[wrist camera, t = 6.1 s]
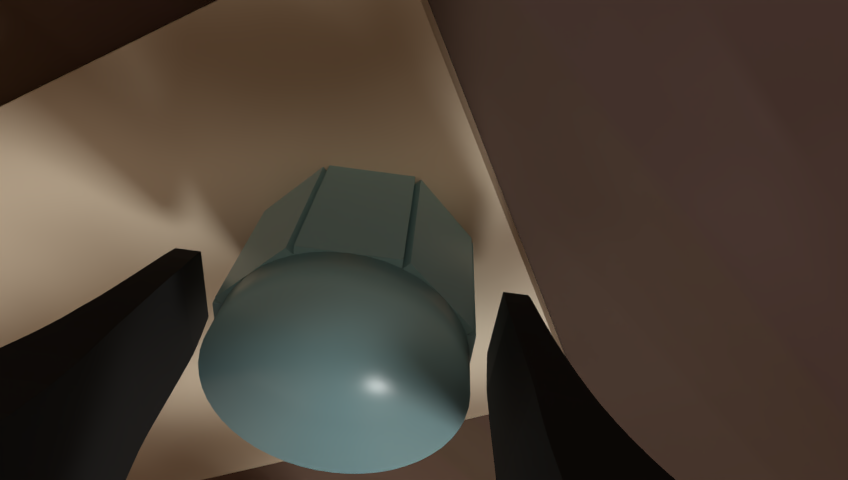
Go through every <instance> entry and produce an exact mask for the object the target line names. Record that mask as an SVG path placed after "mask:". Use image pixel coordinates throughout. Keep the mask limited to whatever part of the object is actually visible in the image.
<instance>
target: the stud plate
mask: <svg viewBox="0 0 848 480" xmlns="http://www.w3.org/2000/svg"><path fill="white" fill-rule="evenodd" d="M329 165H331V166H339V167H346V168H354V169H361V170H369V171H377V172H384V173H392V174H400V175H407V176H415V183H414V184H416V183H417V182H419V181H420V180H422V181H423V182H424V183H425V185H426V186H427V187H428V188H429V189H430V190H431V192H432V193H433V194H434V195H435V196H436V197H437V199H438V200H439V201H440V202H441V203H442V204H443V206H444V207H445V208H446V209H447V210H448V211H449V212H450V214H451V215H452V216H453V217H454V218H455V219H456V221H457V222H458V223H459V224H460V225H461V226H462V228H463V229H464V230H465V231H466V232H467V233H468V234H469V236H470V237H471V239H472V243H473V259H474V287H475V316H476V339H475V344H474V348H473V352H472V356H471V361H470V402H469V408H468V411H467V414H466V417H465V420H466V419H470V418H474V417H479V416H483V415H487V414H489V410H488V401H487V351H488V347H489V344H490V340H491V336H492V332H493V328H494V325H495V321H496V317H497V313H498V309H499V306H500V302H501V298H502V294H503V292H509V293H516V294H524V295H529V297H530V298H531V299H532V301H533V303H534V305H535V306H536V308H537V310H538V312H539V314H540V315H541V317H542V319H543V321H544V322H545V324H546V326H547V328H548V329H549V331H550V333H551V334H552V336H553V338H554V339H555V341H556V342H557V344H558V346H559V347H560V349H561V350H562V352H563V353H564V351H563V349H562V346H561V344H560V341H559V339H558V336H557V333H556V331H555V328H554V326H553V323H552V320H551V318H550V315H549V313H548V310H547V308H546V305H545V302H544V300H543V297H542V295H541V292H540V289H539V287H538V284H537V282H536V279H535V277H534V274H533V271H532V269H531V266H530V264H529V261H528V258H527V256H526V253H525V251H524V248H523V245H522V243H521V240H520V238H519V235H518V233H517V230H516V227H515V225H514V222H513V220H512V217H511V214H510V212H509V209H508V207H507V204H506V202H505V199H504V196H503V194H502V191H501V189H500V186H499V183H498V181H497V178H496V176H495V173H494V171H493V168H492V165H491V163H490V160H489V158H488V155H487V152H486V150H485V147H484V145H483V142H482V140H481V137H480V134H479V132H478V129H477V127H476V124H475V121H474V119H473V116H472V114H471V111H470V109H469V106H468V103H467V101H466V98H465V96H464V93H463V90H462V88H461V85H460V83H459V80H458V78H457V75H456V72H455V70H454V67H453V65H452V62H451V59H450V57H449V54H448V52H447V49H446V47H445V44H444V41H443V39H442V36H441V34H440V31H439V28H438V26H437V23H436V21H435V18H434V16H433V13H432V10H431V8H430V5H429V3H428V0H216V1H214V2H212V3H210V4H208V5H206V6H204V7H202V8H200V9H198V10H196V11H194V12H192V13H190V14H188V15H186V16H184V17H181V18H179V19H177V20H175V21H173V22H171V23H169V24H167V25H165V26H163V27H161V28H159V29H157V30H155V31H153V32H151V33H149V34H147V35H145V36H143V37H141V38H139V39H137V40H135V41H133V42H130V43H128V44H126V45H124V46H122V47H120V48H118V49H116V50H114V51H112V52H110V53H108V54H106V55H104V56H102V57H100V58H98V59H96V60H94V61H92V62H90V63H88V64H86V65H84V66H82V67H79V68H77V69H75V70H73V71H71V72H69V73H67V74H65V75H63V76H61V77H59V78H57V79H55V80H53V81H51V82H49V83H47V84H45V85H43V86H41V87H39V88H37V89H35V90H33V91H30V92H28V93H26V94H24V95H22V96H20V97H18V98H16V99H14V100H12V101H10V102H8V103H6V104H4V105H2V106H0V348H1V347H3V346H5V345H7V344H9V343H12V342H14V341H16V340H18V339H20V338H22V337H24V336H26V335H29V334H31V333H33V332H35V331H37V330H39V329H41V328H43V327H45V326H47V325H49V324H51V323H52V322H54V321H56V320H58V319H60V318H62V317H64V316H65V315H67V314H69V313H71V312H72V311H74V310H76V309H77V308H79V307H81V306H83V305H84V304H86V303H88V302H90V301H91V300H93V299H95V298H97V297H98V296H100V295H102V294H103V293H105V292H107V291H108V290H110V289H111V288H113V287H115V286H116V285H118V284H119V283H121V282H122V281H124V280H126V279H127V278H129V277H130V276H132V275H133V274H135V273H137V272H138V271H140V270H141V269H143V268H144V267H146V266H147V265H149V264H150V263H152V262H153V261H155V260H157V259H158V258H160V257H161V256H163V255H164V254H166V253H168V252H169V251H171V250H173V249H174V248H179V249H187V250H194V251H201V255H202V264H203V273H204V281H205V290H206V298H207V307H208V315H209V317H208V320H207V322H206V325H205V328H204V330H203V333H202V335H201V338H200V340H199V343H198V345H197V347H196V350H195V352H194V354H193V356H192V358H191V360H190V361H189V363H188V365H187V367H186V369H185V370H184V372H183V374H182V376H181V377H180V379H179V381H178V383H177V384H176V386H175V388H174V389H173V391H172V393H171V395H170V396H169V398H168V400H167V402H166V403H165V405H164V407H163V408H162V410H161V412H160V414H159V415H158V417H157V419H156V420H155V422H154V424H153V426H152V427H151V429H150V431H149V433H148V434H147V436H146V438H145V440H144V442H143V444H142V446H141V448H140V450H139V452H138V454H137V456H136V458H135V461H134V463H133V465H132V467H131V470H130V472H129V474H128V476H127V479H126V480H204V479H208V478H212V477H217V476H221V475H225V474H230V473H234V472H238V471H243V470H247V469H252V468H256V467H260V466H265V465H269V464H273V463H278V462H282V461H283V460H281V459H278V458H276V457H274V456H271V455H269V454H267V453H265V452H263V451H261V450H259V449H258V448H256V447H254V446H253V445H251V444H250V443H248V442H247V441H245V440H244V439H242V438H241V437H240V436H238V435H237V434H236V433H235V432H233V431H232V430H231V429H230V428H229V427H228V426H227V425H226V424H225V423H224V422H223V421H222V420H221V419H220V417H219V416H218V415H217V414H216V412H215V411H214V410H213V408H212V407H211V405H210V403H209V402H208V400H207V398H206V396H205V393H204V391H203V389H202V386H201V382H200V378H199V370H198V359H199V352H200V348H201V345H202V342H203V339H204V337H205V335H206V333H207V331H208V330H209V328H210V326H211V324H212V322H213V320H214V313H213V305H212V303H213V301H214V299H215V296H216V295H217V293H218V291H219V289H220V288H221V286H222V284H223V282H224V281H225V279H226V277H227V275H228V274H229V272H230V270H231V268H232V267H233V265H234V263H235V262H236V260H237V258H238V256H239V255H240V253H241V251H242V249H243V248H244V246H245V244H246V242H247V241H248V239H249V237H250V235H251V234H252V232H253V230H254V228H255V227H256V225H257V223H258V222H259V220H260V218H261V216H262V215H263V213H264V211H265V210H267V209H268V208H269V207H271V206H272V205H273V204H275V203H276V202H277V201H279V200H280V199H281V198H283V197H284V196H285V195H286V194H288V193H289V192H290V191H292V190H293V189H294V188H296V187H297V186H298V185H300V184H301V183H302V182H304V181H305V180H306V179H308V178H309V177H310V176H312V175H313V174H314V173H316V172H317V171H318V170H320V169H321V168H322V167H324V168H325V169H326V170H327V169H328V167H329ZM564 355H565V354H564Z"/></svg>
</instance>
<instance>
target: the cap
mask: <svg viewBox="0 0 848 480" xmlns="http://www.w3.org/2000/svg"><path fill="white" fill-rule="evenodd" d="M414 183H415V176H407V175H400V174H392V173H384V172H377V171H369V170H361V169H354V168H346V167H339V166H331V165H329V167H328V169H327V170H326V169H325V168H324V167H322V168H321V169H320V170H318V171H317V172H316V173H314V174H313V175H312V176H310V177H309V178H308V179H306V180H305V181H304V182H302V183H301V184H300V185H298V186H297V187H296V188H294V189H293V190H292V191H290V192H289V193H288V194H286V195H285V196H284V197H283V198H281V199H280V200H279V201H277V202H276V203H275V204H273V205H272V206H271V207H269V208H268V209H267V210H265V211H264V213H263V215H262V216H261V218H260V220H259V222H258V223H257V225H256V227H255V228H254V230H253V232H252V234H251V235H250V237H249V239H248V241H247V242H246V244H245V246H244V248H243V249H242V251H241V253H240V255H239V256H238V258H237V260H236V262H235V263H234V265H233V267H232V268H231V270H230V272H229V274H228V275H227V277H226V279H225V281H224V282H223V284H222V286H221V288H220V289H219V291H218V293H217V295H216V296H215V299H214V301H213V303H212V305H213V313H214V320H213V322H212V324H211V326H210V328H209V330H208V331H207V333H206V335H205V337H204V339H203V342H202V345H201V348H200V352H199V359H198V370H199V378H200V382H201V386H202V389H203V391H204V393H205V396H206V398H207V400H208V402H209V403H210V405H211V407H212V408H213V410H214V411H215V412H216V414H217V415H218V416H219V417H220V419H221V420H222V421H223V422H224V423H225V424H226V425H227V426H228V427H229V428H230V429H231V430H232V431H233V432H235V433H236V434H237V435H238V436H240V437H241V438H242V439H244V440H245V441H247V442H248V443H250V444H251V445H253V446H254V447H256V448H258V449H259V450H261V451H263V452H265V453H267V454H269V455H271V456H274V457H276V458H278V459H281V460H283V461H286V462H289V463H292V464H295V465H298V466H301V467H306V468H310V469H314V470H319V471H326V472H333V473H346V474H363V473H375V472H382V471H388V470H393V469H397V468H400V467H404V466H407V465H410V464H412V463H415V462H418V461H420V460H422V459H424V458H426V457H428V456H430V455H431V454H433V453H434V452H436V451H437V450H439V449H440V448H442V447H443V446H444V445H445V444H446V443H447V442H448V441H449V440H451V438H452V437H453V436H454V435H455V434H456V432H457V431H458V430H459V428H460V427H461V425H462V423H463V421H464V420H465V417H466V414H467V411H468V408H469V402H470V361H471V356H472V352H473V348H474V344H475V339H476V316H475V287H474V259H473V243H472V239H471V237H470V236H469V234H468V233H467V232H466V231H465V230H464V229H463V228H462V226H461V225H460V224H459V223H458V222H457V221H456V219H455V218H454V217H453V216H452V215H451V214H450V212H449V211H448V210H447V209H446V208H445V207H444V206H443V204H442V203H441V202H440V201H439V200H438V199H437V197H436V196H435V195H434V194H433V193H432V192H431V190H430V189H429V188H428V187H427V186H426V185H425V183H424V182H423V181H422V180H420V181H419V182H417V183H416V184H414Z"/></svg>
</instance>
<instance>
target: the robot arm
mask: <svg viewBox="0 0 848 480" xmlns="http://www.w3.org/2000/svg"><path fill="white" fill-rule="evenodd" d="M208 317H209V315H208V307H207V298H206V290H205V281H204V273H203V264H202V255H201V251H194V250H187V249H179V248H174V249H173V250H171V251H169V252H168V253H166V254H164V255H163V256H161V257H160V258H158V259H157V260H155V261H153V262H152V263H150V264H149V265H147V266H146V267H144V268H143V269H141V270H140V271H138V272H137V273H135V274H133V275H132V276H130V277H129V278H127V279H126V280H124V281H122V282H121V283H119V284H118V285H116V286H115V287H113V288H111V289H110V290H108V291H107V292H105V293H103V294H102V295H100V296H98V297H97V298H95V299H93V300H91V301H90V302H88V303H86V304H84V305H83V306H81V307H79V308H77V309H76V310H74V311H72V312H71V313H69V314H67V315H65V316H64V317H62V318H60V319H58V320H56V321H54V322H52V323H51V324H49V325H47V326H45V327H43V328H41V329H39V330H37V331H35V332H33V333H31V334H29V335H26V336H24V337H22V338H20V339H18V340H16V341H14V342H12V343H9V344H7V345H5V346H3V347H1V348H0V480H126V479H127V476H128V474H129V472H130V470H131V467H132V465H133V463H134V461H135V458H136V456H137V454H138V452H139V450H140V448H141V446H142V444H143V442H144V440H145V438H146V436H147V434H148V433H149V431H150V429H151V427H152V426H153V424H154V422H155V420H156V419H157V417H158V415H159V414H160V412H161V410H162V408H163V407H164V405H165V403H166V402H167V400H168V398H169V396H170V395H171V393H172V391H173V389H174V388H175V386H176V384H177V383H178V381H179V379H180V377H181V376H182V374H183V372H184V370H185V369H186V367H187V365H188V363H189V361H190V360H191V358H192V356H193V354H194V352H195V350H196V347H197V345H198V343H199V340H200V338H201V335H202V333H203V330H204V328H205V325H206V322H207V320H208ZM487 401H488V410H489V420H490V429H491V437H492V446H493V455H494V464H495V473H496V480H675V479H674V478H673V477H672V476H670V475H669V474H668V473H667V472H666V471H665V470H664V469H663V468H662V467H660V466H659V465H658V464H657V463H656V462H655V461H654V460H653V459H652V458H651V457H650V456H649V455H648V454H647V453H646V452H645V451H644V450H643V449H641V448H640V447H639V446H638V445H637V444H636V443H635V442H634V441H633V440H632V439H631V438H630V437H629V436H628V435H627V433H626V432H625V431H624V430H623V429H622V428H621V427H620V426H619V425H618V424H617V423H616V422H615V420H614V419H613V418H612V417H611V416H610V415H609V414H608V412H607V411H606V410H605V409H604V408H603V407H602V406H601V404H600V403H599V402H598V401H597V399H596V398H595V397H594V396H593V394H592V393H591V392H590V390H589V389H588V388H587V386H586V385H585V384H584V382H583V381H582V380H581V378H580V377H579V376H578V374H577V373H576V371H575V370H574V368H573V367H572V365H571V364H570V362H569V361H568V359H567V358H566V356H565V355H564V353H563V352H562V350H561V349H560V347H559V346H558V344H557V342H556V341H555V339H554V338H553V336H552V334H551V333H550V331H549V329H548V328H547V326H546V324H545V322H544V321H543V319H542V317H541V315H540V314H539V312H538V310H537V308H536V306H535V305H534V303H533V301H532V299H531V298H530V297H529V295H524V294H516V293H509V292H503V294H502V298H501V302H500V306H499V309H498V313H497V317H496V321H495V325H494V328H493V332H492V336H491V340H490V344H489V347H488V351H487Z"/></svg>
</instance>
